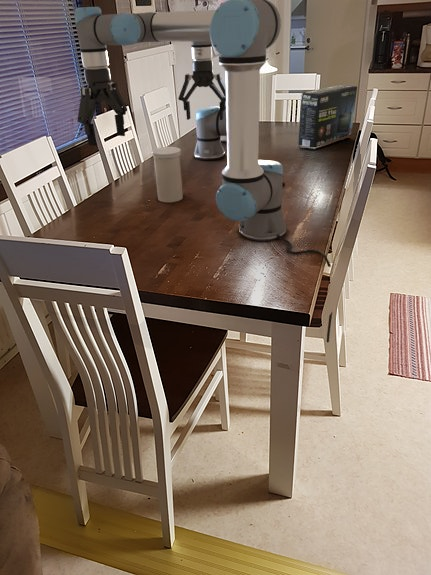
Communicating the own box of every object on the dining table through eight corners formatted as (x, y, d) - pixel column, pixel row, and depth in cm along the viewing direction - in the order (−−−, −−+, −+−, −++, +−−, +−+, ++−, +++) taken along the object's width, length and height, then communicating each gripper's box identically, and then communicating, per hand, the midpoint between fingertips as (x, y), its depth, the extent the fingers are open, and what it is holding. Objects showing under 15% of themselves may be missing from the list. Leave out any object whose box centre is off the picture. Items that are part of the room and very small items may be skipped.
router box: (314, 151, 231) (318, 94, 217) (296, 148, 237) (299, 92, 224) (352, 138, 251) (358, 85, 238) (335, 135, 258) (340, 83, 245)
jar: (186, 194, 183) (183, 148, 174) (178, 203, 175) (174, 155, 166) (163, 192, 186) (158, 147, 177) (154, 201, 178) (148, 154, 168)
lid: (184, 151, 175) (184, 147, 174) (175, 159, 166) (174, 154, 165) (158, 150, 178) (158, 146, 177) (147, 158, 169) (147, 153, 168)
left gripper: (167, 61, 171) (172, 120, 182) (232, 60, 165) (233, 121, 176) (173, 59, 177) (178, 116, 188) (237, 58, 171) (237, 117, 182)
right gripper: (114, 63, 147) (123, 131, 158) (55, 72, 129) (70, 148, 140) (132, 63, 144) (140, 132, 155) (75, 72, 126) (88, 150, 137)
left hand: (205, 119), depth 182 cm, fingers open, 13 cm apart
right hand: (107, 140), depth 148 cm, fingers open, 13 cm apart
